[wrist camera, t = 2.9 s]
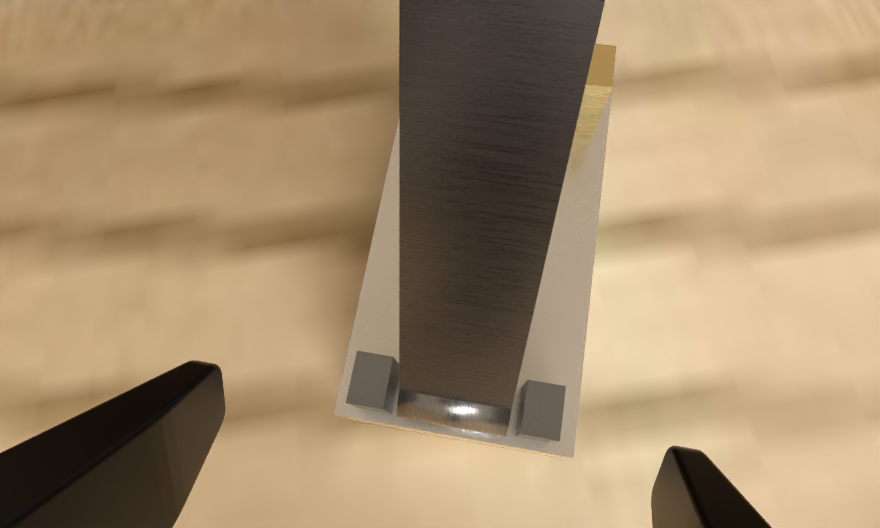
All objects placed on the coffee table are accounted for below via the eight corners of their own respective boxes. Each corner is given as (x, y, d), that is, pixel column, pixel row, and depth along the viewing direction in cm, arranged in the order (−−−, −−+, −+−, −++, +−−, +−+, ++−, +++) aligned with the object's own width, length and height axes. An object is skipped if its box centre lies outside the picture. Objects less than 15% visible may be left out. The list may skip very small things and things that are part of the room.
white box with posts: (551, 456, 21) (594, 459, 14) (360, 421, 22) (307, 407, 15) (587, 144, 25) (636, 19, 18) (422, 122, 25) (404, -7, 18)
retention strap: (503, 448, 16) (605, 8, 8) (396, 429, 17) (394, -15, 9) (508, 399, 18) (602, -28, 9) (408, 382, 18) (416, -47, 10)
